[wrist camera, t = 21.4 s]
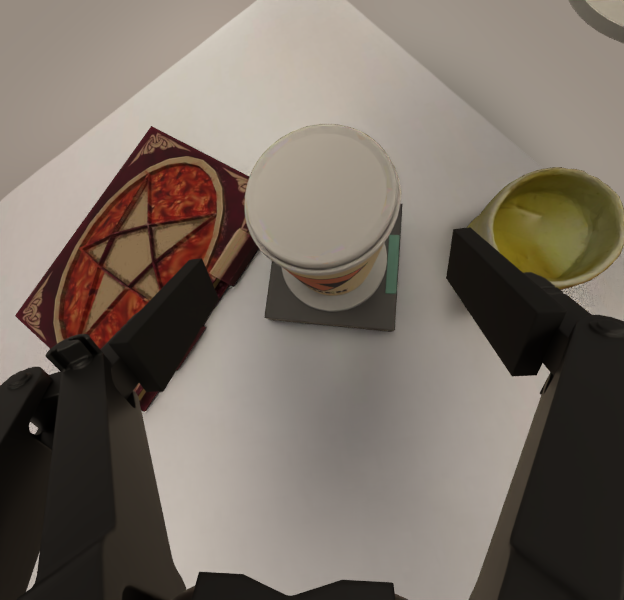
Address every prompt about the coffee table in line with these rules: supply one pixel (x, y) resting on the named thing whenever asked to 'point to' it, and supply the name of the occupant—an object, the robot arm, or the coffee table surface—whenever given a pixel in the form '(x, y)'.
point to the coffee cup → (323, 205)
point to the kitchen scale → (342, 308)
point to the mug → (555, 225)
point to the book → (144, 243)
